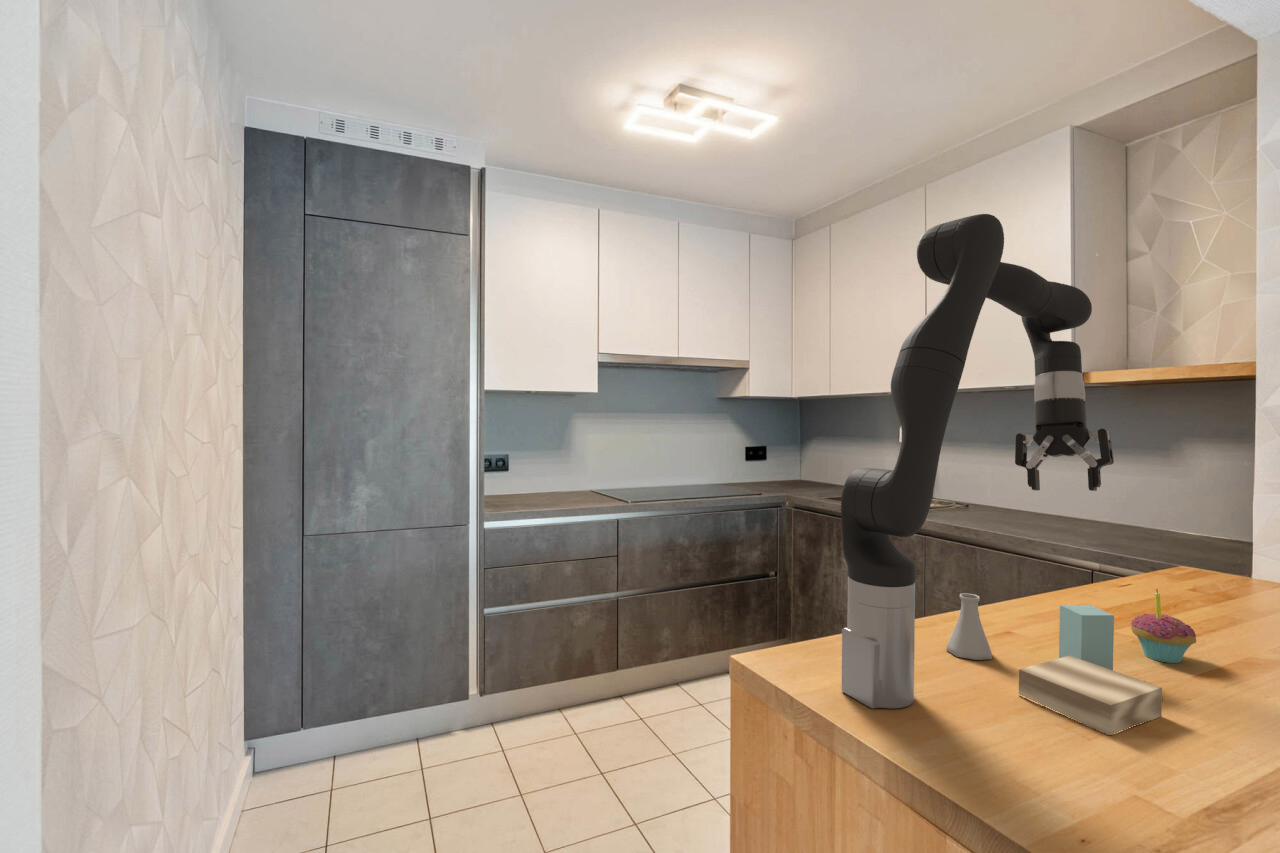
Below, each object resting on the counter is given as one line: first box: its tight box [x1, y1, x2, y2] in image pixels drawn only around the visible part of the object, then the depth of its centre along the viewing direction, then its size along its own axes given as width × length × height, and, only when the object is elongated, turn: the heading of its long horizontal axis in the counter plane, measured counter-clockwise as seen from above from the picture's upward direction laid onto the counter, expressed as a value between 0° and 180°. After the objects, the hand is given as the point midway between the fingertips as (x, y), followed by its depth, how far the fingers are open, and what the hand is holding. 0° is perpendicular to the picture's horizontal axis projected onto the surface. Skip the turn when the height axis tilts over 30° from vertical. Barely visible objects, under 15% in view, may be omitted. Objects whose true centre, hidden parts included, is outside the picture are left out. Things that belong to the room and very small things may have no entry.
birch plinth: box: [1018, 656, 1163, 736], centre depth 86 cm, size 12×12×4 cm
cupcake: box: [1130, 588, 1197, 664], centre depth 103 cm, size 9×8×12 cm
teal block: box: [1058, 604, 1115, 671], centre depth 98 cm, size 5×5×10 cm
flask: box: [946, 592, 993, 661], centre depth 105 cm, size 7×7×10 cm
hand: (1063, 490), depth 107 cm, fingers open, 8 cm apart
